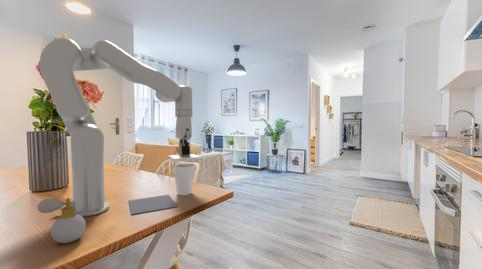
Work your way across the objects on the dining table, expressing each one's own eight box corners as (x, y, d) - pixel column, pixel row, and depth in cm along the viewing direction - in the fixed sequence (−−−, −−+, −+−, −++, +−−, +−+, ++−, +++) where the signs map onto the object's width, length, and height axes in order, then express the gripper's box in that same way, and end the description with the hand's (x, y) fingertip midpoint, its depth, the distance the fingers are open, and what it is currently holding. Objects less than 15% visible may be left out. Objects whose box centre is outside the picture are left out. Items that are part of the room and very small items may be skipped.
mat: (131, 215, 78) (131, 214, 78) (128, 201, 92) (128, 200, 92) (177, 206, 86) (177, 205, 86) (168, 195, 100) (168, 194, 100)
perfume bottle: (89, 239, 61) (88, 196, 61) (42, 255, 54) (41, 206, 54) (81, 231, 66) (80, 191, 66) (37, 244, 59) (35, 199, 58)
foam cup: (182, 197, 97) (182, 167, 96) (169, 193, 103) (169, 165, 102) (199, 192, 104) (198, 164, 104) (186, 189, 110) (185, 162, 110)
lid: (174, 161, 95) (174, 144, 94) (168, 158, 105) (168, 142, 105) (201, 159, 101) (201, 143, 100) (193, 156, 111) (193, 141, 111)
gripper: (171, 114, 107) (171, 152, 108) (180, 112, 93) (181, 157, 94) (186, 114, 111) (187, 151, 112) (198, 113, 97) (198, 155, 97)
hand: (184, 153), depth 103 cm, fingers closed on lid, 4 cm apart
